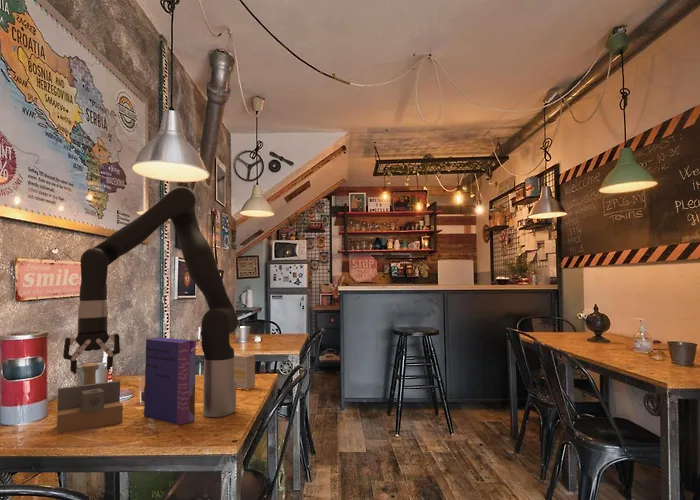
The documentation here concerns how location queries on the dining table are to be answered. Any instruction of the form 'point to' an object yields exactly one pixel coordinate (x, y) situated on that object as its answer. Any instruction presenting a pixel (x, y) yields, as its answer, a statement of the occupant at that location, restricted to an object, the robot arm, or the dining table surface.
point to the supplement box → (244, 371)
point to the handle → (89, 373)
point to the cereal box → (170, 380)
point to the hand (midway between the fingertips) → (91, 371)
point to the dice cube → (92, 400)
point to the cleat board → (76, 419)
